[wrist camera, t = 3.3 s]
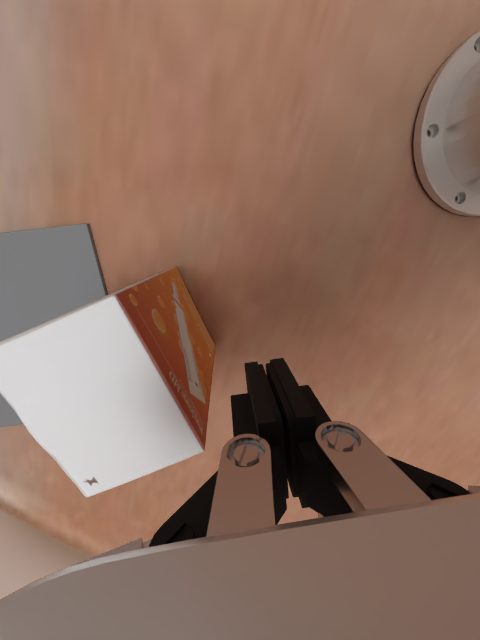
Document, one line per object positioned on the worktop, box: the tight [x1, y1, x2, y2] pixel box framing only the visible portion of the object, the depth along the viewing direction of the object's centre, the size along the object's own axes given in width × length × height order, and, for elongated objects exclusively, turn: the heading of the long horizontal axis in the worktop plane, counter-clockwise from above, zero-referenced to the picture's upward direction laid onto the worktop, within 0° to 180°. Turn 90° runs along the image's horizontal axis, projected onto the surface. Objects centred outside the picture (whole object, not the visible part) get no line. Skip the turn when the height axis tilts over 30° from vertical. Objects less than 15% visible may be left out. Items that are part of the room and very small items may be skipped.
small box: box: [0, 267, 215, 497], centre depth 17 cm, size 8×6×13 cm
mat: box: [0, 224, 108, 427], centre depth 23 cm, size 15×17×1 cm
